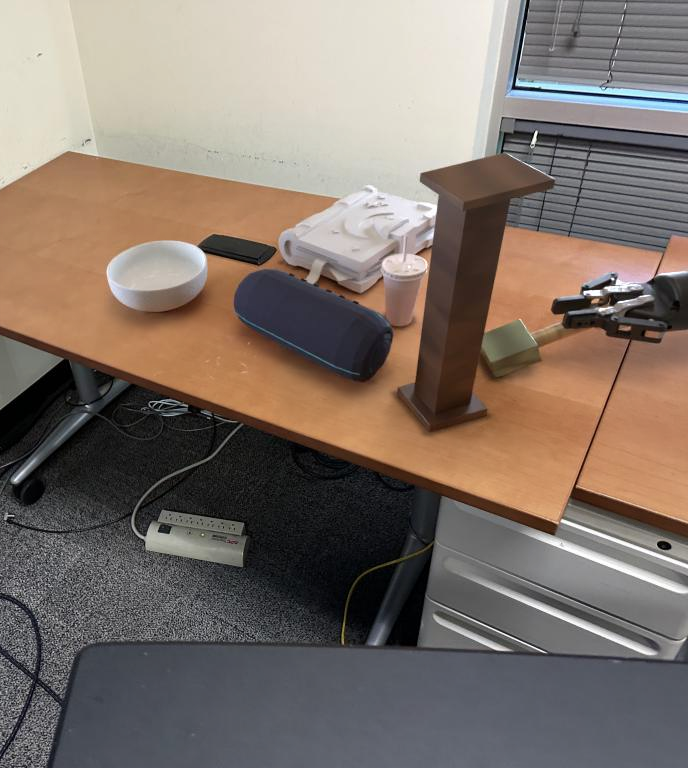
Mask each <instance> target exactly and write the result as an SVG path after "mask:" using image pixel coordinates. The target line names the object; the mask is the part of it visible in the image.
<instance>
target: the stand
mask: <svg viewBox="0 0 688 768" xmlns="http://www.w3.org/2000/svg"><path fill="white" fill-rule="evenodd" d="M419 183H421V184H422V185H423V186H425V187H426V188H428V189H429V190H431V191H433V192H434V193H435V194H437V195H438V197H437V204H436V205H437V212H436V220H435V228H434V236H433V244H432V245H431V251H430V252H431V253H430V260H429V269H428V276H427V283H426V284H427V285H426V292H425V301H424V308H423V317H422V323H421V331H420V340H419V348H418V357H417V362H416V363H417V364H416V371H415V380H414V382H412V383H408V384H404V385H401V386H398V387H397V390H396V391H397V392H396V395H397V396H398V397H399V398H400V400H402V402H404V404H405V405H406V407H408V409H409V410H410V411H411V412H412V414H413V415H414V416H415V417H416V418H417V419H418V420H419V422H420V423H421V424H422V426H424V428H425V429H426V430H427V431H428V432H429V433H431V432H434V431H438V430H441V429H444V428H447V427H451V426H454V425H458V424H461V423H464V422H467V421H472V420H475V419H478V418H482V417H484V416H487V413H488V410H489V408H488V407H487V406H486V405H485V404H484V402H482V401H481V399H479V397H477V396H476V395H475V394H474V393H473V392H474V387H475V382H476V377H477V371H478V366H479V361H480V357H481V347H482V342H483V337H484V333H485V331H486V326H487V321H488V316H489V311H490V306H491V301H492V295H493V290H494V285H495V280H496V275H497V271H498V265H499V261H500V255H501V251H502V245H503V240H504V237H505V236H504V235H505V230H506V224H507V219H508V214H509V210H510V205H511V201H512V200H513V199H516V198H522V197H526V196H529V195H533V194H537V193H540V192H541V193H542V192H545V191H548V190H553V189H554V187H555V183H556V178H554V177H552V176H550V175H548V174H546V173H544V172H542V171H541V170H539V169H537V168H535V167H533V166H531V165H529V164H527V163H525V162H523V161H522V160H519V159H518V158H516V157H514V156H512V155H510V154H509V153H507V152H502V153H497V154H493V155H489V156H484V157H481V158H477V159H472V160H469V161H464V162H460V163H456V164H453V165H449V166H444V167H440V168H436V169H435V168H434V169H431V170H427V171H424V172H420V174H419Z"/></svg>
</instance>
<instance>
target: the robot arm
mask: <svg viewBox="0 0 688 768" xmlns="http://www.w3.org/2000/svg"><path fill="white" fill-rule="evenodd" d="M618 277H619V273H617V272H616V271H609V272H606V273H605V274H601V275H600V276H598V277H595V278H593V279H591V280H588V281H586V282H584V283H582V284H581V287H580V292H579V294H577V295H568V296H559V297H556V298H555V299H553V300H552V303H551V308H550V311H551V312H552V314H553V315H555V316H558V315H563V317H562V320H561V321H562V326H563V327H564V328H565V329H581V328H590V329H592V328H591V327H593V328H594V329H595V330H603V331H605V336H607V337H609V338H613V339H620V340H627V341H635V342H636V341H637V342H644V343H650V344H660V343H662V340H663V338H664V336H665V334H666V333H669V332H678V331H688V270H683V271H682V270H681V271H673V272H663V273H659V274H657V275H655V276H653V277H652V278H650V280H647V281H646V282H637V281H629V282H624V281H622V280H619V279H618ZM594 300H598V301H597V302H593V301H594ZM606 304H609V305H610V306H611V307H608V308H602V309H599V310H598V312H597V311H596V310H595V308H598V307H601V306H603V305H606ZM626 328H630V329H629V330H623V329H626Z"/></svg>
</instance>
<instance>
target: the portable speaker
mask: <svg viewBox="0 0 688 768" xmlns="http://www.w3.org/2000/svg"><path fill="white" fill-rule="evenodd" d="M232 305H233V309H234V312H235V314H236V316H237V318H238V319H239V321H240V322H241V323H242V324H243V325H245V326H246V327H248V328H249V329H250V330H252V331H253V332H255V333H257V334H259V335H260V336H262V337H264V338H266V339H268V340H270V341H272V342H274V343H275V344H278V345H279V346H281V347H283V348H285V349H287V350H289V351H291V352H293V353H295V354H297V355H299V356H301V357H302V358H304V359H306V360H308V361H310V362H312V363H314V364H316V365H318V366H319V367H321V368H323V369H326V370H327V371H329V372H331V373H333V374H334V375H337V376H339V377H340V378H342V379H343V378H344V379H346V380H349V381H353V382H354V383H355V382H356V383H366V382H369V381H370V380H371V379H373V378H374V377H375V375H376V374H377V373H378V372H379V371H380V369H381V368H382V367H383V366H385V364H386V361H387V359H388V357H389V354H390V352H391V348H392V344H393V341H394V329H393V327H392V325H391V324H389V322H388V321H387V319H386V316H384V315H382V314H381V313H380V312H379V311H377V310H374V309H372V308H369V307H368V306H365V305H362V304H360V302H359V301H358V300H357V301H356V300H351V299H348V298H346V296H345V295H343V294H337V293H334V292H333V290H331V289H328V288H326V289H325V288H322V287H321V286H320V285H319V284H318V283H315V284H314V285H313V284H311V283H309V282H307V280H306V278H299V277H297V276H296V275H295V274H294V273H292V272H290V273H288V272H287V271H283V270H280V269H278V268H275V269H273V268H271V269H270V268H264V269H258V270H254V271H252V272H250V273H248V274H247V275H246V276H245V277H243V278H242V280H241V281H240V282H239V284H238V285H237V288H236V290H235V292H234V295H233V303H232Z"/></svg>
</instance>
